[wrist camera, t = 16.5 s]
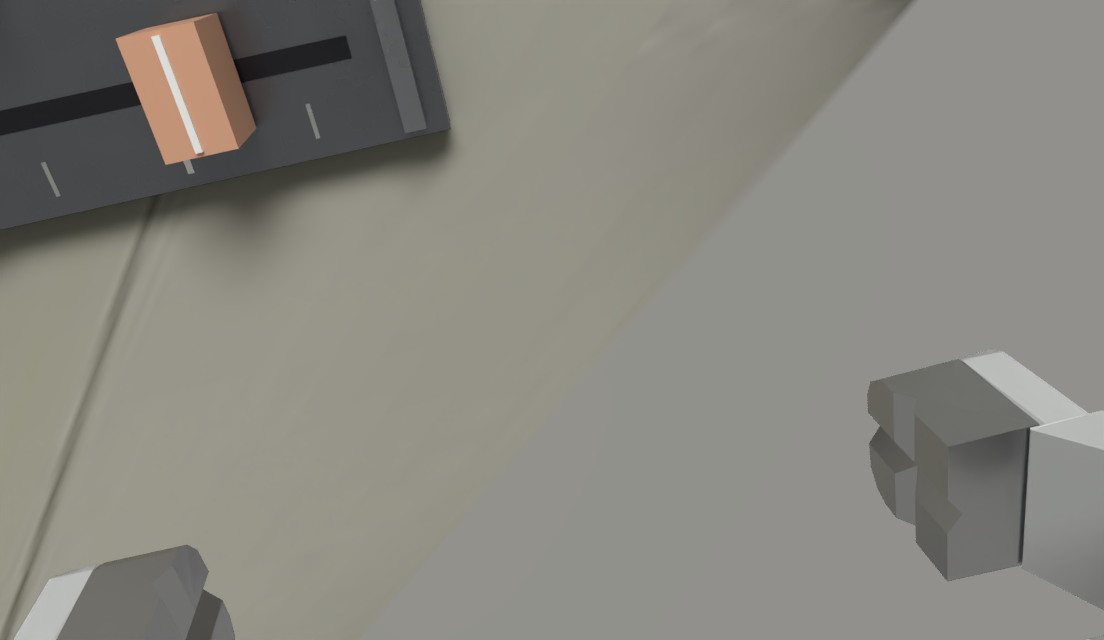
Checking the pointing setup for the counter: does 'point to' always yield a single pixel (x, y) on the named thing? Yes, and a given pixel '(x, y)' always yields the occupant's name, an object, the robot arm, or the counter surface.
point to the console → (265, 74)
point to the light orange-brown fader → (188, 87)
